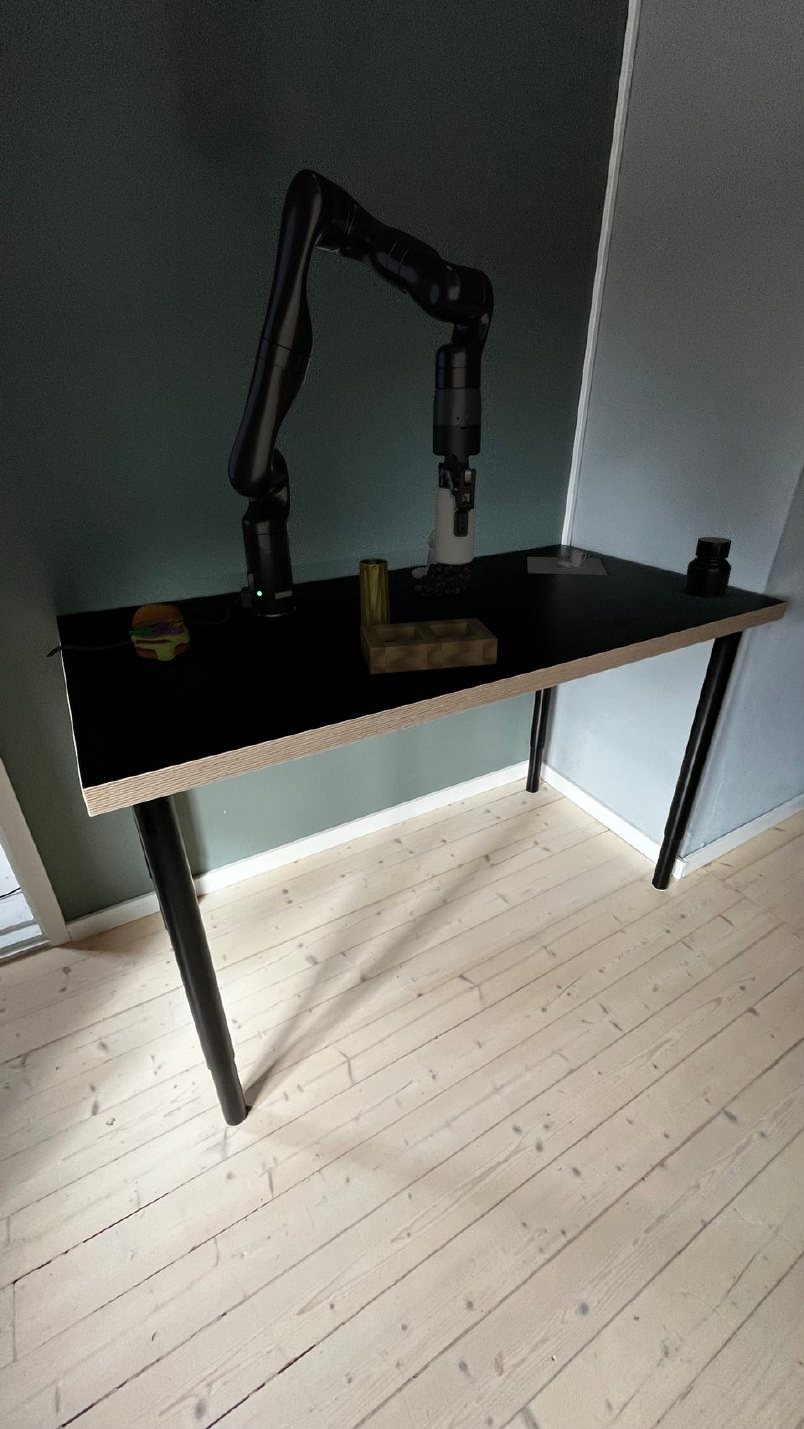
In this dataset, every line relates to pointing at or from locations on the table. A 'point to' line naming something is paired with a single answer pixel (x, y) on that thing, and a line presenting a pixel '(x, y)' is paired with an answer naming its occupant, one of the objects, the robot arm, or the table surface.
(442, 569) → the fruit
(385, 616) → the vase
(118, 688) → the table surface
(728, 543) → the ink bottle
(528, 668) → the table surface
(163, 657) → the cheeseburger
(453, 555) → the can
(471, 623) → the holder
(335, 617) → the table surface
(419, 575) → the sitting furry creature
